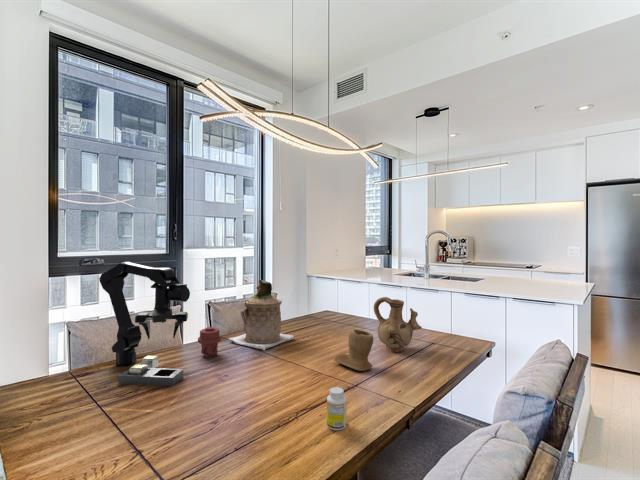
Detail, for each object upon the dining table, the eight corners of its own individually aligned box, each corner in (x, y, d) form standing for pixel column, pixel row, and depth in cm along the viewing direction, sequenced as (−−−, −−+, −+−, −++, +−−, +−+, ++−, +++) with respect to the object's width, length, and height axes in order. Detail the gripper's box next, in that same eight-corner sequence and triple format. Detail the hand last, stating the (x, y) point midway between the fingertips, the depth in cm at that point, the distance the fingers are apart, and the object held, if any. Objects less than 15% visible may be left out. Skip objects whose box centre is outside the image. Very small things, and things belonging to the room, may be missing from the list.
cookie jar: (295, 339, 180) (296, 278, 179) (264, 352, 159) (264, 283, 159) (260, 331, 193) (260, 274, 193) (226, 342, 172) (227, 279, 172)
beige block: (129, 382, 123) (129, 368, 123) (136, 377, 128) (136, 363, 127) (140, 382, 123) (140, 368, 123) (147, 377, 127) (147, 364, 127)
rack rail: (118, 385, 122) (118, 375, 122) (132, 376, 130) (132, 367, 130) (172, 387, 120) (172, 377, 120) (183, 378, 128) (183, 369, 128)
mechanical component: (225, 352, 157) (214, 360, 147) (205, 351, 159) (193, 358, 149) (225, 325, 157) (214, 331, 147) (205, 324, 159) (193, 330, 149)
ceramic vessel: (392, 358, 152) (393, 302, 151) (366, 346, 168) (367, 295, 168) (422, 352, 160) (423, 299, 160) (394, 341, 177) (395, 293, 177)
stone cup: (379, 368, 141) (379, 331, 140) (359, 375, 133) (359, 337, 133) (352, 358, 152) (353, 324, 152) (332, 364, 144) (333, 328, 144)
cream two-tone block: (142, 371, 134) (142, 358, 134) (148, 367, 139) (148, 355, 139) (152, 371, 134) (152, 359, 134) (158, 367, 138) (158, 355, 138)
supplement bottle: (334, 418, 101) (335, 384, 101) (350, 425, 97) (350, 389, 97) (322, 426, 97) (323, 390, 97) (338, 433, 93) (338, 396, 93)
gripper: (131, 304, 127) (130, 345, 127) (185, 303, 132) (184, 343, 132) (139, 298, 137) (137, 336, 138) (188, 298, 142) (187, 335, 143)
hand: (161, 338), depth 137 cm, fingers open, 9 cm apart
